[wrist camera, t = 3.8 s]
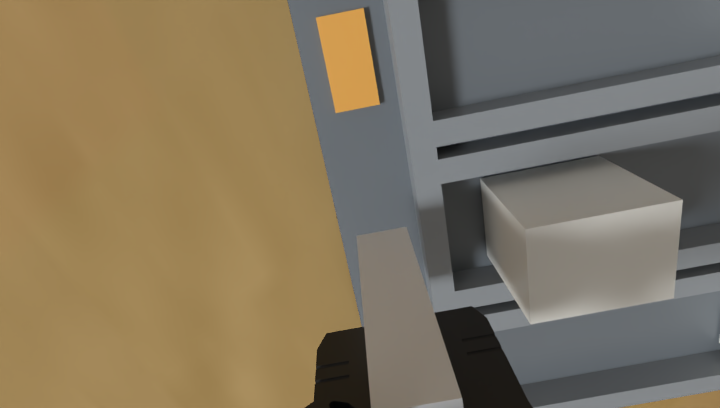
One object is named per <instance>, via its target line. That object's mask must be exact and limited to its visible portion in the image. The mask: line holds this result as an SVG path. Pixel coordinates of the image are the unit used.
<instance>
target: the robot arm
mask: <svg viewBox="0 0 720 408" xmlns="http://www.w3.org/2000/svg"><path fill="white" fill-rule="evenodd" d="M357 247H358V259H359V271H360V283H361V295H362V307H363V319H364V327H360V328H354V329H348V330H343V331H337V332H332V333H327V334H326V335H325V337H324V339H323V340H322V342H321V344H320V346H319V347H318V349H317V361H316V369H317V370H316V376H315V382H316V384H315V392H314V402H312V403H311V404H310V405H308V406H307V407H305V408H533V407H532V405H531V404H530V402H529V401H528V399H527V397H526V395H525V393H524V391H523V389H522V387H521V385H520V383H519V381H518V379H517V377H516V375H515V373H514V371H513V369H512V367H511V365H510V363H509V361H508V359H507V357H506V355H505V353H504V351H503V350H502V348H501V345H500V343H499V341H498V339H497V337H496V336H495V333H494V331H493V329H492V327H491V325H490V323H489V321H488V319H487V317H485V316H484V315H483V314H481V313H480V312H479V311H478V310H476V309H475V308H474V307H472V306H469V307H463V308H458V309H452V310H447V311H441V312H435V313H434V310H433V307H432V304H431V301H430V298H429V295H428V292H427V289H426V286H425V283H424V279H423V276H422V273H421V270H420V267H419V264H418V261H417V258H416V255H415V252H414V249H413V246H412V243H411V240H410V237H409V234H408V231H407V227H402V228H397V229H391V230H386V231H381V232H375V233H370V234H364V235H359V236H357Z"/></svg>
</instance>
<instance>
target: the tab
mask: <svg viewBox="0 0 720 408" xmlns="http://www.w3.org/2000/svg"><path fill="white" fill-rule="evenodd" d="M480 183H481V194H482V205H483V215H484V226H485V237H486V248H487V256H488V258H489V259H490V261H491V262H492V264H493V266H494V267H495V269H496V270H497V272H498V273H499V275H500V277H501V278H502V280H503V281H504V283H505V285H506V286H507V288H508V289H509V291H510V293H511V294H512V296H513V297H514V299H515V301H516V302H517V304H518V305H519V307H520V308H521V310H522V312H523V313H524V315H525V316H526V318H527V320H528V321H529V323H530V324H535V323H541V322H547V321H552V320H558V319H563V318H569V317H574V316H580V315H585V314H591V313H596V312H602V311H607V310H613V309H618V308H624V307H629V306H635V305H640V304H646V303H651V302H657V301H662V300H668V299H673V298H674V291H675V280H676V269H677V259H678V248H679V237H680V226H681V215H682V204H683V200H682V199H680V198H678V197H677V196H675V195H673V194H671V193H669V192H667V191H665V190H663V189H661V188H659V187H658V186H656V185H654V184H652V183H650V182H648V181H646V180H644V179H642V178H640V177H638V176H637V175H635V174H633V173H631V172H629V171H627V170H625V169H623V168H621V167H619V166H618V165H616V164H614V163H612V162H610V161H608V160H606V159H604V158H602V157H600V156H594V157H589V158H584V159H579V160H573V161H568V162H563V163H558V164H553V165H547V166H542V167H537V168H532V169H527V170H521V171H516V172H511V173H506V174H500V175H495V176H490V177H485V178H480Z"/></svg>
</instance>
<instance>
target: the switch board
mask: <svg viewBox="0 0 720 408" xmlns="http://www.w3.org/2000/svg"><path fill="white" fill-rule="evenodd" d="M288 4H289V9H290V13H291V17H292V22H293V26H294V31H295V35H296V39H297V44H298V48H299V52H300V57H301V61H302V66H303V70H304V74H305V79H306V83H307V88H308V92H309V96H310V101H311V105H312V109H313V114H314V118H315V123H316V127H317V131H318V136H319V140H320V145H321V149H322V153H323V158H324V162H325V166H326V171H327V175H328V180H329V184H330V188H331V193H332V197H333V201H334V206H335V210H336V215H337V219H338V223H339V228H340V232H341V237H342V241H343V245H344V250H345V254H346V258H347V263H348V267H349V272H350V276H351V280H352V285H353V289H354V294H355V298H356V302H357V307H358V311H359V315H360V320H361V324H362V327H364V319H363V307H362V295H361V283H360V271H359V259H358V247H357V236H359V235H364V234H370V233H375V232H381V231H386V230H391V229H397V228H402V227H407V231H408V234H409V237H410V240H411V243H412V246H413V249H414V252H415V255H416V258H417V261H418V264H419V267H420V270H421V273H422V276H423V279H424V283H425V286H426V289H427V292H428V295H429V298H430V301H431V304H432V307H433V310H434V313H435V312H441V311H447V310H452V309H458V308H463V307H469V306H472V307H474V308H475V309H476V310H478V311H479V312H480V313H481V314H483V315H484V316H485V317H487V319H488V321H489V323H490V325H491V327H492V329H493V331H494V333H495V336H496V337H497V339H498V341H499V343H500V345H501V348H502V350H503V351H504V353H505V355H506V357H507V359H508V361H509V363H510V365H511V367H512V369H513V371H514V373H515V375H516V377H517V379H518V381H519V383H520V385H521V387H522V389H523V391H524V393H525V395H526V397H527V399H528V401H529V402H530V404H531V405H532V407H533V408H619V407H625V406H631V405H637V404H642V403H648V402H654V401H659V400H665V399H671V398H677V397H682V396H688V395H694V394H699V393H705V392H711V391H717V390H720V343H719V338H720V0H288ZM594 156H600V157H602V158H604V159H606V160H608V161H610V162H612V163H614V164H616V165H618V166H619V167H621V168H623V169H625V170H627V171H629V172H631V173H633V174H635V175H637V176H638V177H640V178H642V179H644V180H646V181H648V182H650V183H652V184H654V185H656V186H658V187H659V188H661V189H663V190H665V191H667V192H669V193H671V194H673V195H675V196H677V197H678V198H680V199H682V200H683V204H682V215H681V226H680V237H679V248H678V259H677V269H676V280H675V291H674V298H673V299H668V300H662V301H657V302H651V303H646V304H640V305H635V306H629V307H624V308H618V309H613V310H607V311H602V312H596V313H591V314H585V315H580V316H574V317H569V318H563V319H558V320H552V321H547V322H541V323H535V324H530V323H529V321H528V320H527V318H526V316H525V315H524V313H523V312H522V310H521V308H520V307H519V305H518V304H517V302H516V301H515V299H514V297H513V296H512V294H511V293H510V291H509V289H508V288H507V286H506V285H505V283H504V281H503V280H502V278H501V277H500V275H499V273H498V272H497V270H496V269H495V267H494V266H493V264H492V262H491V261H490V259H489V258H488V256H487V248H486V237H485V226H484V215H483V205H482V194H481V183H480V178H485V177H490V176H495V175H500V174H506V173H511V172H516V171H521V170H527V169H532V168H537V167H542V166H547V165H553V164H558V163H563V162H568V161H573V160H579V159H584V158H589V157H594Z"/></svg>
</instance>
